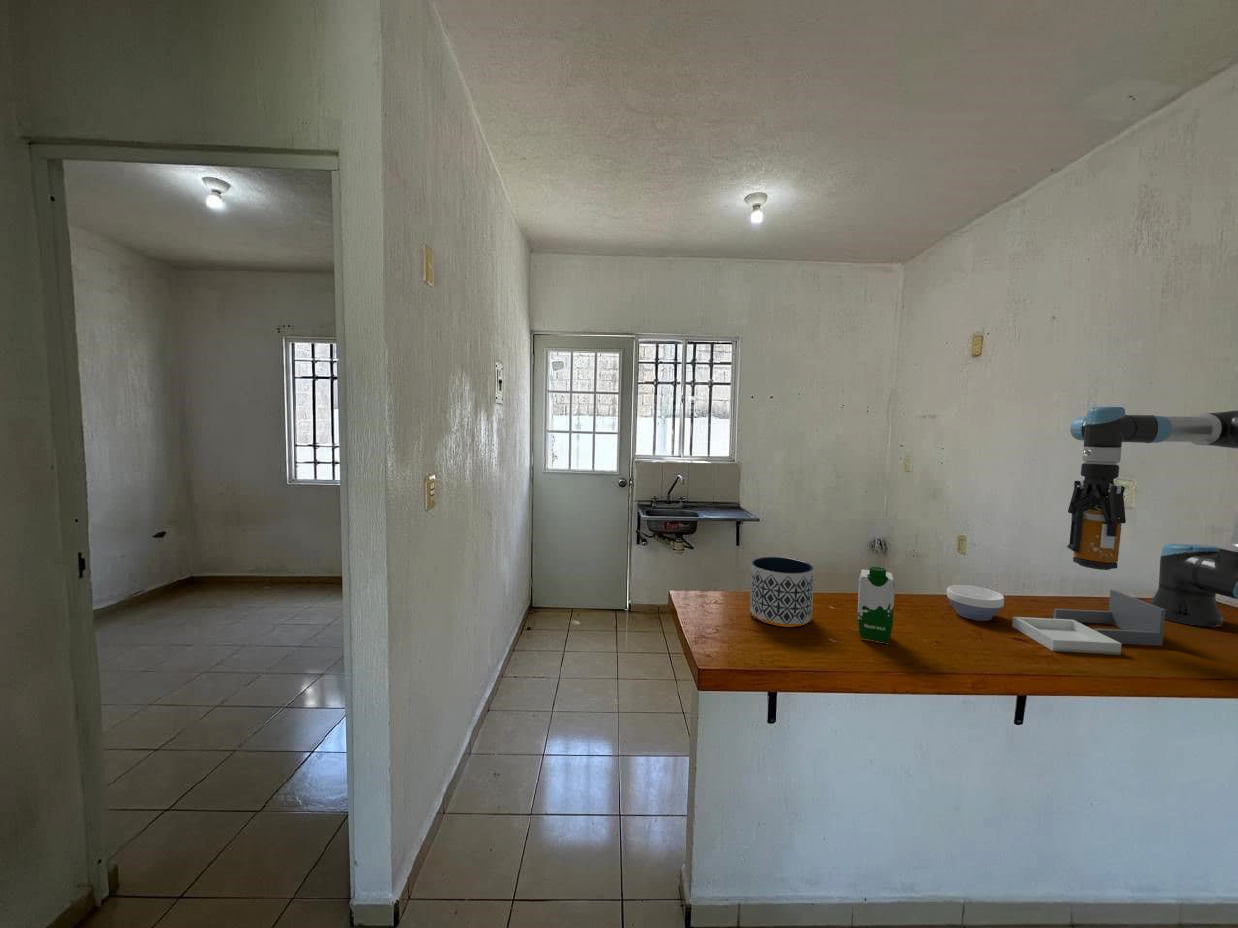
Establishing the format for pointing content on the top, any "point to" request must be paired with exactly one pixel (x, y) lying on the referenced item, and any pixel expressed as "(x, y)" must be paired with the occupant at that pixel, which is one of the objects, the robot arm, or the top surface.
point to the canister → (1091, 535)
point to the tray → (1066, 635)
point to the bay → (1124, 620)
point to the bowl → (975, 601)
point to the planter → (781, 590)
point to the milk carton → (876, 604)
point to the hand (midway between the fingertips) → (1092, 543)
